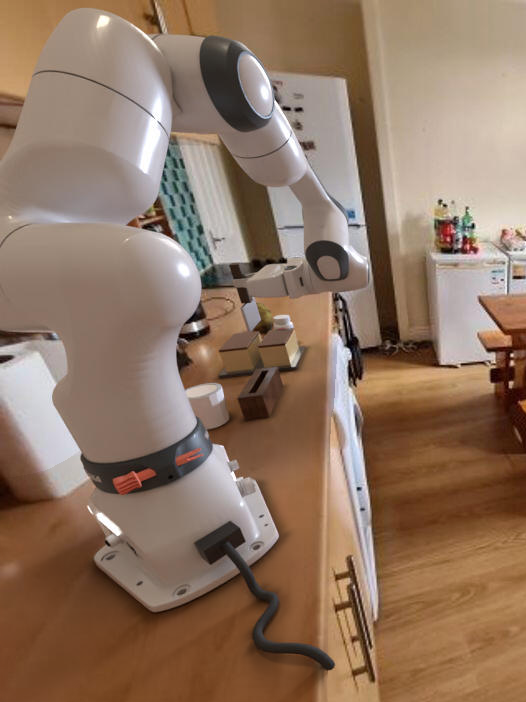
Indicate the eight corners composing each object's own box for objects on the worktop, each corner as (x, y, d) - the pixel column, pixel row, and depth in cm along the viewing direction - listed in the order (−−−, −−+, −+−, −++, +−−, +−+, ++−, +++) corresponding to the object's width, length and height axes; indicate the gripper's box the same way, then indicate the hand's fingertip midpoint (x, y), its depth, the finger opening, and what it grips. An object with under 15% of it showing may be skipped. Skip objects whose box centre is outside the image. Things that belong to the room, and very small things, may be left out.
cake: (296, 369, 103) (289, 344, 100) (219, 378, 99) (209, 353, 96) (305, 348, 116) (299, 325, 113) (237, 355, 112) (229, 332, 109)
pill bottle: (281, 349, 116) (273, 320, 112) (277, 344, 119) (269, 316, 115) (300, 345, 118) (292, 316, 114) (295, 340, 121) (288, 313, 118)
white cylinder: (213, 433, 78) (199, 400, 75) (182, 429, 79) (168, 397, 76) (241, 414, 84) (230, 383, 81) (212, 411, 85) (200, 381, 82)
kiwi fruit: (244, 338, 124) (236, 312, 120) (249, 326, 134) (242, 301, 131) (275, 334, 127) (268, 309, 123) (278, 322, 137) (271, 298, 134)
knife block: (269, 416, 83) (262, 394, 81) (244, 420, 82) (236, 398, 80) (283, 386, 95) (277, 366, 93) (262, 389, 94) (255, 369, 92)
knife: (254, 332, 98) (233, 267, 91) (244, 332, 98) (223, 268, 91) (264, 319, 107) (246, 259, 100) (255, 320, 106) (236, 260, 99)
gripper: (303, 256, 108) (244, 259, 105) (289, 271, 90) (217, 277, 87) (309, 280, 111) (252, 284, 107) (296, 300, 93) (227, 306, 90)
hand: (236, 281), depth 97 cm, fingers closed on knife, 2 cm apart
